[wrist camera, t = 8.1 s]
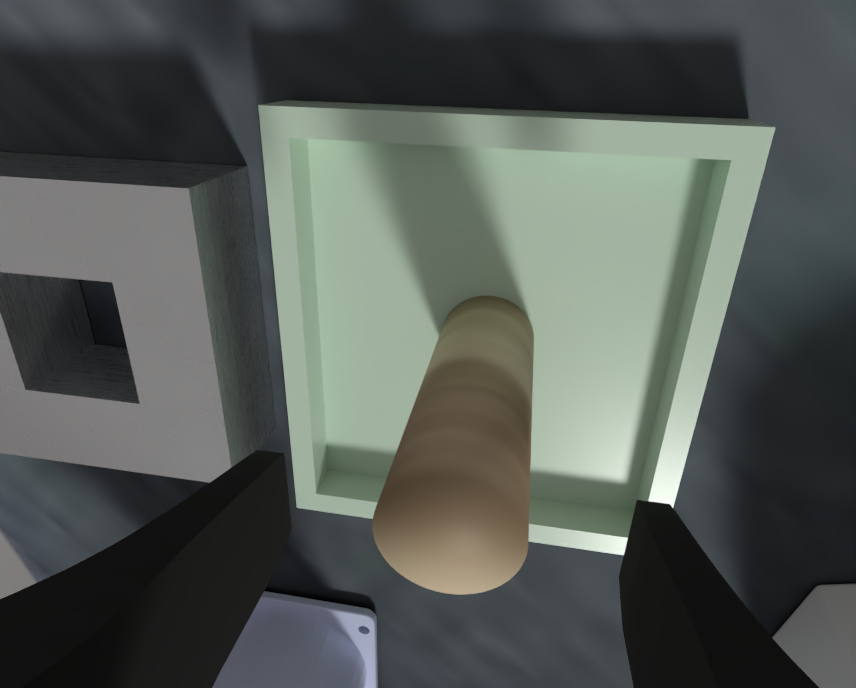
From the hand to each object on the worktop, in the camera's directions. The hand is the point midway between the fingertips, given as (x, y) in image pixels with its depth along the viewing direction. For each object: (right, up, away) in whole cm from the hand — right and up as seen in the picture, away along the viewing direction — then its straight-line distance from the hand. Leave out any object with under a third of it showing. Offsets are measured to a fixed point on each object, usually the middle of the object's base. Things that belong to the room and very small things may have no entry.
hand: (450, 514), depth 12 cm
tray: (+2, +4, +8) cm, 9 cm away
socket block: (-11, +5, +10) cm, 16 cm away
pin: (+1, +4, +7) cm, 8 cm away
